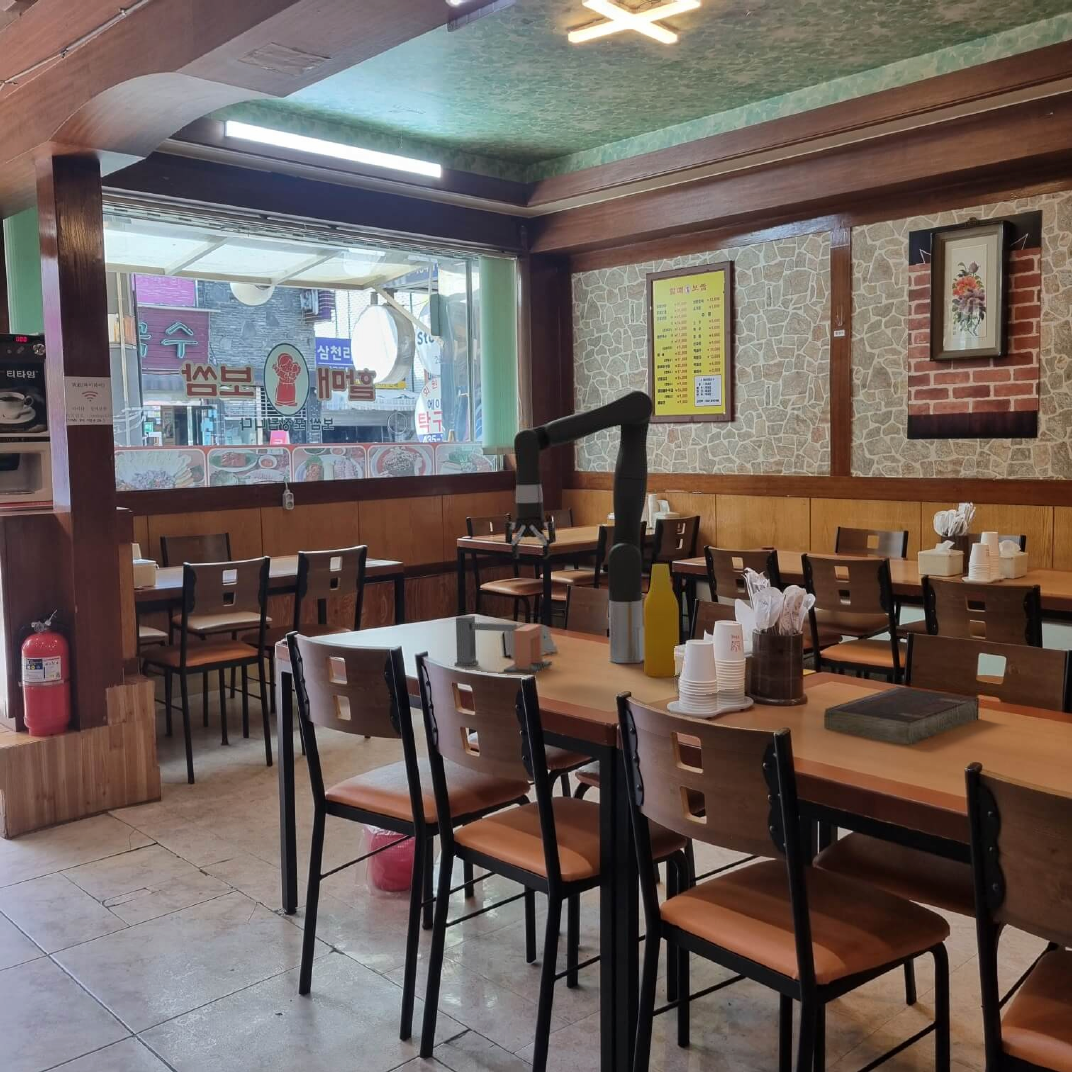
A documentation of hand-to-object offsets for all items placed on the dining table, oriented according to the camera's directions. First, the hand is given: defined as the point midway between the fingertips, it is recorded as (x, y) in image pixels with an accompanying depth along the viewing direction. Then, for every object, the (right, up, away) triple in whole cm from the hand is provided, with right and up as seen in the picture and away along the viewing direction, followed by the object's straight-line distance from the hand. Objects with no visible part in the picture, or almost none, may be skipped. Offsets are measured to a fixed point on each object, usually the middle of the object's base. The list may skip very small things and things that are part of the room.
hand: (531, 558), depth 293 cm
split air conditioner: (-1, -29, +14) cm, 32 cm away
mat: (-1, -30, -7) cm, 31 cm away
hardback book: (+78, -34, -74) cm, 113 cm away
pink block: (-1, -29, -7) cm, 30 cm away
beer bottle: (+34, -30, -20) cm, 50 cm away
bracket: (-12, -30, -2) cm, 32 cm away
